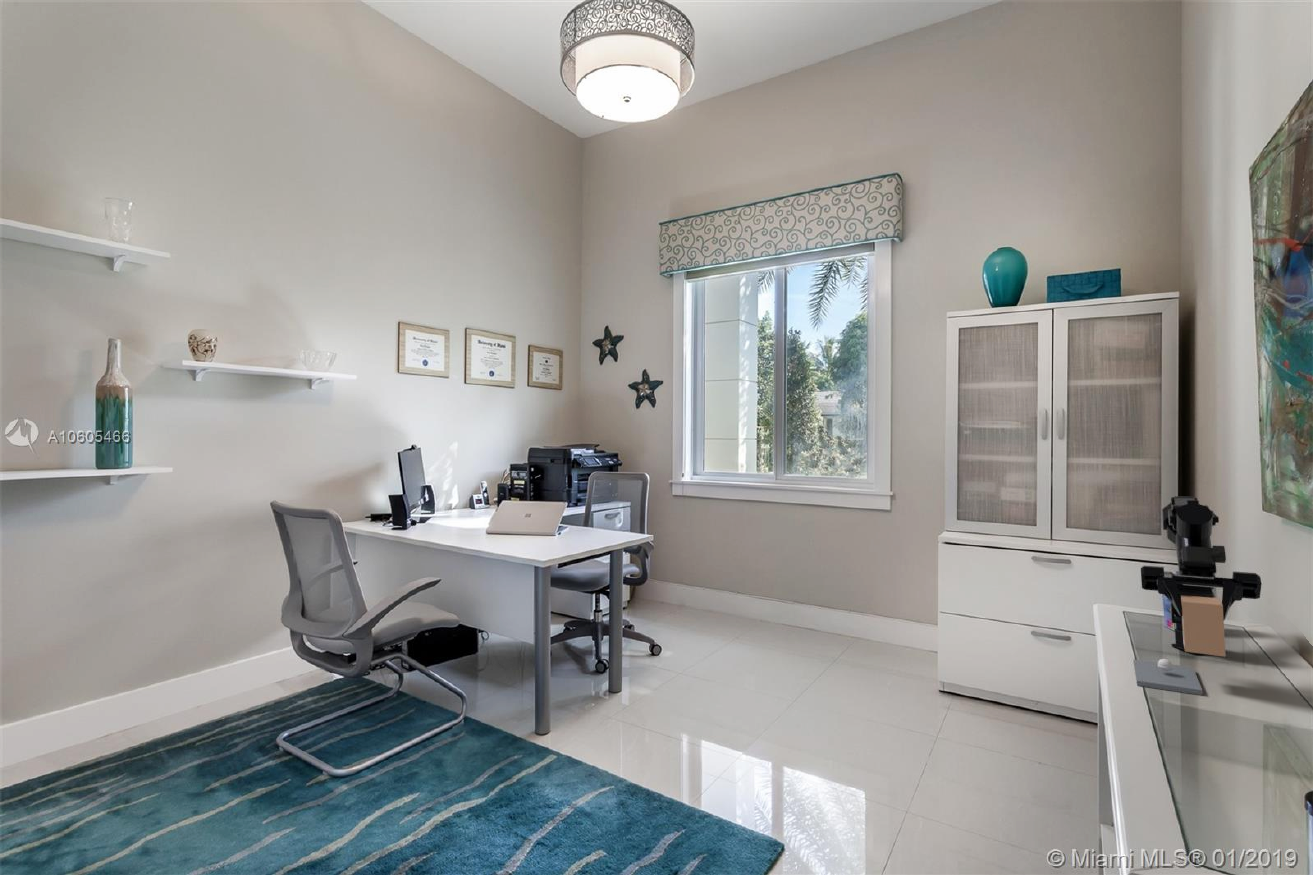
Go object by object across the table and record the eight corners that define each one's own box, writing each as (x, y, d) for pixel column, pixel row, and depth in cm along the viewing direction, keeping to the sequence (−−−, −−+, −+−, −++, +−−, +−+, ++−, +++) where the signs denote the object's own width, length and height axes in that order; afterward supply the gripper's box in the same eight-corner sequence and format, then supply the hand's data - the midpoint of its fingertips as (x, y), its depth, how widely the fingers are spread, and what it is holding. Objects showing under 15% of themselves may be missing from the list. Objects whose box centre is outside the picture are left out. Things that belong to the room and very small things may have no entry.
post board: (1133, 663, 136) (1132, 645, 136) (1193, 671, 131) (1192, 652, 131) (1137, 685, 125) (1136, 665, 125) (1202, 695, 119) (1201, 674, 119)
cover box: (1183, 643, 128) (1180, 595, 129) (1222, 647, 125) (1219, 598, 125) (1185, 651, 124) (1182, 601, 124) (1225, 656, 120) (1222, 605, 120)
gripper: (1138, 528, 134) (1141, 590, 125) (1257, 532, 123) (1269, 601, 114) (1140, 558, 140) (1143, 619, 131) (1253, 565, 129) (1265, 632, 120)
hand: (1201, 617), depth 124 cm, fingers closed on cover box, 6 cm apart
